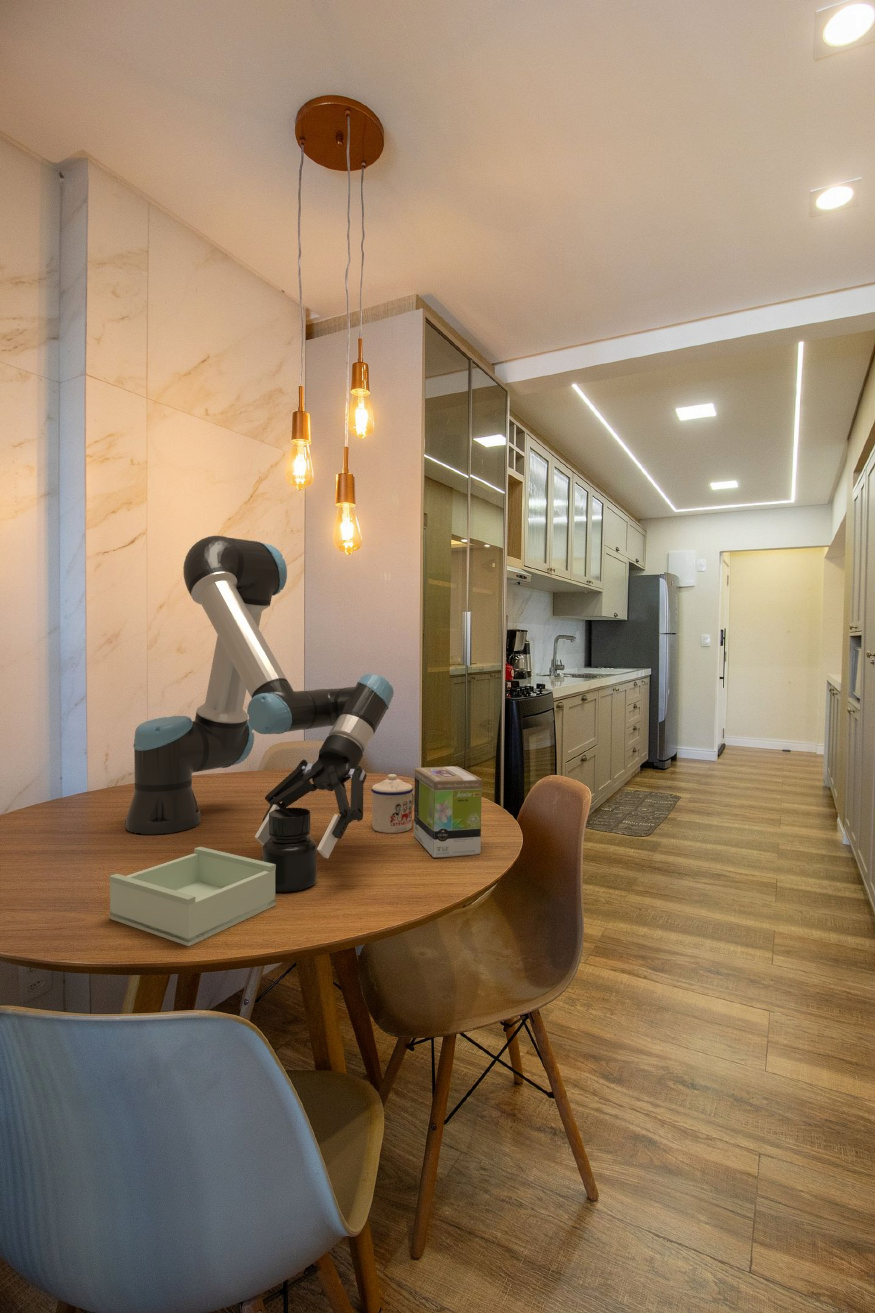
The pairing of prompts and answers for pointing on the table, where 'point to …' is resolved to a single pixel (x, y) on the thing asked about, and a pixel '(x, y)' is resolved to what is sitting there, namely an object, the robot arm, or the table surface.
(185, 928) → the tray
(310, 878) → the ink bottle
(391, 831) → the teacup with lid
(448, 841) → the tea box
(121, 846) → the table surface
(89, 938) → the table surface
